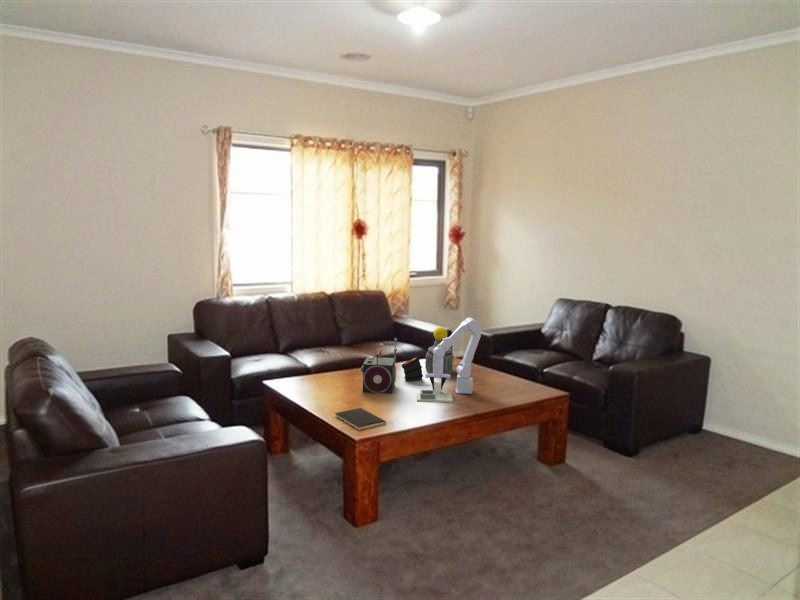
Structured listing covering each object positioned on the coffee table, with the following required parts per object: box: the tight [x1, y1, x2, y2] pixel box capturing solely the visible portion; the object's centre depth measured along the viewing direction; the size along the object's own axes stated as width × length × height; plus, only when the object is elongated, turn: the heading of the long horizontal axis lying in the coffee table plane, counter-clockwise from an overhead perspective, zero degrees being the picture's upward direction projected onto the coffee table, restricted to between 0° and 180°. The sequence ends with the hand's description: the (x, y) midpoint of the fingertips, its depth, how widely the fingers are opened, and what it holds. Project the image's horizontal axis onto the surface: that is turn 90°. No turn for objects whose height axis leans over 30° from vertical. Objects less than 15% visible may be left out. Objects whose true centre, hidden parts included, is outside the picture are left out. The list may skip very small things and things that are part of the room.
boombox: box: [360, 337, 398, 395], centre depth 350 cm, size 18×21×30 cm
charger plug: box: [434, 381, 442, 394], centre depth 347 cm, size 4×4×6 cm
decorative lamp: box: [424, 326, 455, 375], centre depth 391 cm, size 19×19×30 cm
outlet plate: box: [416, 389, 454, 403], centre depth 337 cm, size 20×12×4 cm, turn 89°
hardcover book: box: [335, 407, 387, 431], centre depth 300 cm, size 16×23×2 cm
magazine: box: [401, 356, 424, 383], centre depth 370 cm, size 4×13×15 cm, turn 110°
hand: (437, 389), depth 348 cm, fingers closed on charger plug, 4 cm apart
